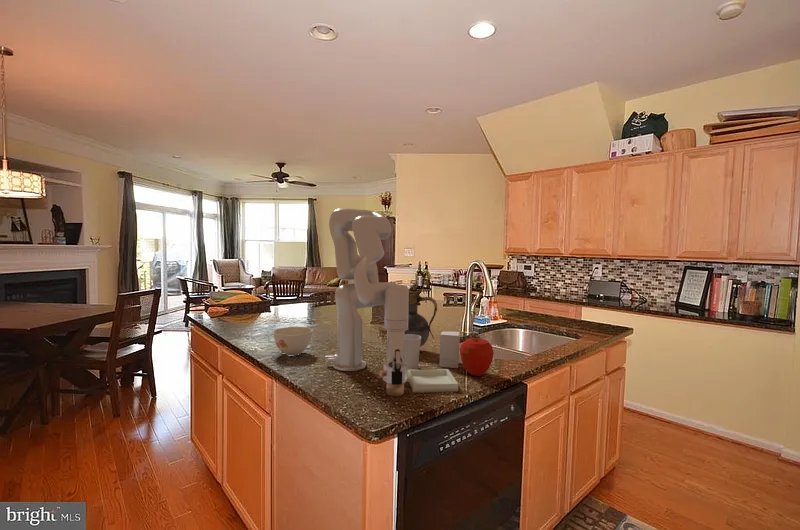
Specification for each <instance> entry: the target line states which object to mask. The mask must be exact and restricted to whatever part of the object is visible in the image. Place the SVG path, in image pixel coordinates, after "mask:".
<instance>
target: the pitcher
mask: <svg viewBox="0 0 800 530" xmlns="http://www.w3.org/2000/svg"><path fill="white" fill-rule="evenodd" d="M418 286H419V283H414V284H412V285H411V284H410V285H409V287H408V289H409V310H408V330H406V331H405V335H406V334H413V335H419V336H421V344H420V348H421V347H422V346H424V345H425V343H427V341H428V339H429V336H430V335H431V337H432V338H433V339H435V337H434V335H433V332H432V330H431V325H432V322H433V321H434V318H435V317H436V314H437V312H438V304H437V301H436V299H434V298H433V297H431V296H423V297H422V296H421V295H420V294H421V293H422V292H423V288H421V287H420V288H419V289H417V288H418ZM425 301H430V302H432V304H433V307H434V311H433V315H432V317H431V319H430V321H429V322H428V321H427V319H426V318H425V316H423V315H421V314H419V313H418V306H419V303H420V302H425Z"/></svg>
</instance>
